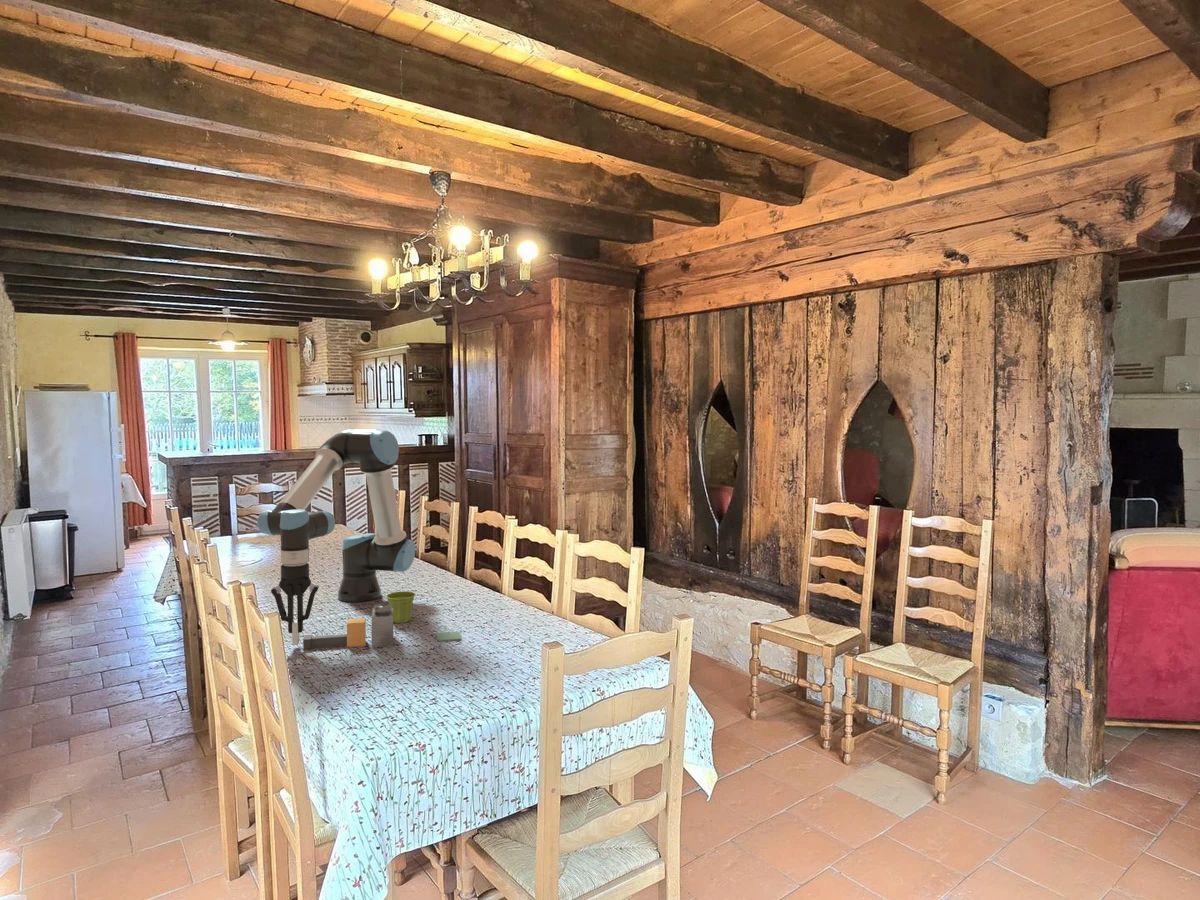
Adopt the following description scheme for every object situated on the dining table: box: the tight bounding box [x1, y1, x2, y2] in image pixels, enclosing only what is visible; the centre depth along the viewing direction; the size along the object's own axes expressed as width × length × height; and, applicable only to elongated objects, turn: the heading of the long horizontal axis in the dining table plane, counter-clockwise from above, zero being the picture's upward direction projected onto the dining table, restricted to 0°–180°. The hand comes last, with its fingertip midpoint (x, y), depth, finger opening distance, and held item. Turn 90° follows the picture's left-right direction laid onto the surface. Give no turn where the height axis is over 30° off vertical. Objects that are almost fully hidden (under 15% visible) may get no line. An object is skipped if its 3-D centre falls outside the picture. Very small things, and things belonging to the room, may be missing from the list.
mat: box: [436, 631, 462, 643], centre depth 218 cm, size 7×7×1 cm
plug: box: [302, 617, 367, 651], centre depth 209 cm, size 4×17×7 cm, turn 105°
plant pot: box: [385, 591, 416, 624], centre depth 234 cm, size 9×9×9 cm
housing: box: [371, 603, 394, 648], centre depth 212 cm, size 9×6×11 cm
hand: (295, 643), depth 206 cm, fingers closed
